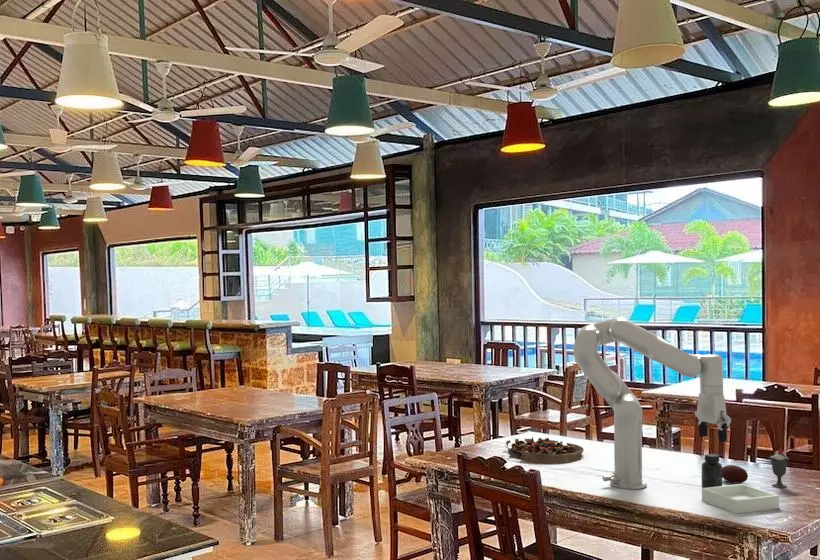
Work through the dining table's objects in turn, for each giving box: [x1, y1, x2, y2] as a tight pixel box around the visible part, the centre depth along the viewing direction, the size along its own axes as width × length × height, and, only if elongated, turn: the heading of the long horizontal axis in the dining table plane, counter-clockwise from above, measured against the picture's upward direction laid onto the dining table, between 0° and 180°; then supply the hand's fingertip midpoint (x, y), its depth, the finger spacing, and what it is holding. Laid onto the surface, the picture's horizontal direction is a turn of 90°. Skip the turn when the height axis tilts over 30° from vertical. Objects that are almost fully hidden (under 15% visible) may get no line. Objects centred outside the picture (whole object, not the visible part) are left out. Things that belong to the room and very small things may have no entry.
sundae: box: [768, 445, 790, 489], centre depth 280 cm, size 7×7×15 cm
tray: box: [701, 483, 780, 514], centre depth 258 cm, size 17×16×4 cm
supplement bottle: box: [701, 453, 723, 489], centre depth 276 cm, size 7×7×12 cm
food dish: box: [504, 436, 585, 465], centre depth 333 cm, size 35×33×8 cm
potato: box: [722, 464, 749, 484], centre depth 286 cm, size 7×10×6 cm
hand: (712, 438), depth 276 cm, fingers open, 9 cm apart
